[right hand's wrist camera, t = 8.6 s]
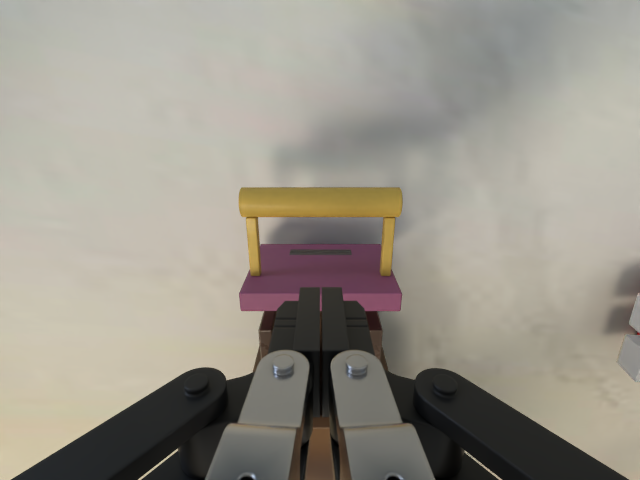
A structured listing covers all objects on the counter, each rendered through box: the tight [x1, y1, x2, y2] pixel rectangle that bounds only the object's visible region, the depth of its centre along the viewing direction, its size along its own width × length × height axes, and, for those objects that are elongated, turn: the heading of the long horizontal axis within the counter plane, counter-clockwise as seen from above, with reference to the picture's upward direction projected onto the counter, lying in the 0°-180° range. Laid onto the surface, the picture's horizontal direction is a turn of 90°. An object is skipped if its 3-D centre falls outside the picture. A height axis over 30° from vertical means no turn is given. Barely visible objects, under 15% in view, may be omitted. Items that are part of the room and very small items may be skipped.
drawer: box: [239, 187, 402, 416], centre depth 24 cm, size 21×9×8 cm, turn 0°
